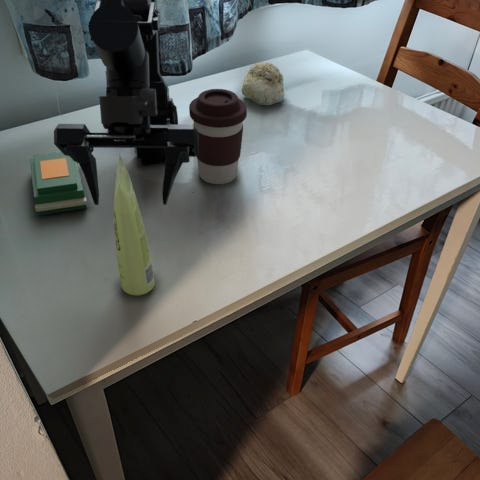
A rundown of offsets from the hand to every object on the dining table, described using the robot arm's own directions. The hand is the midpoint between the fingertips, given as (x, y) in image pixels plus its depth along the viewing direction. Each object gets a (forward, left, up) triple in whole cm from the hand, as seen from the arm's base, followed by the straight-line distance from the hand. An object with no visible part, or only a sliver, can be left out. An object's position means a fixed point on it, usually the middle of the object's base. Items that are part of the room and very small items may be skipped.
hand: (130, 204), depth 71 cm
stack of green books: (+10, -25, -12) cm, 30 cm away
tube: (+1, +3, -12) cm, 13 cm away
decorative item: (-39, -53, -12) cm, 67 cm away
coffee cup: (-19, -23, -12) cm, 33 cm away
